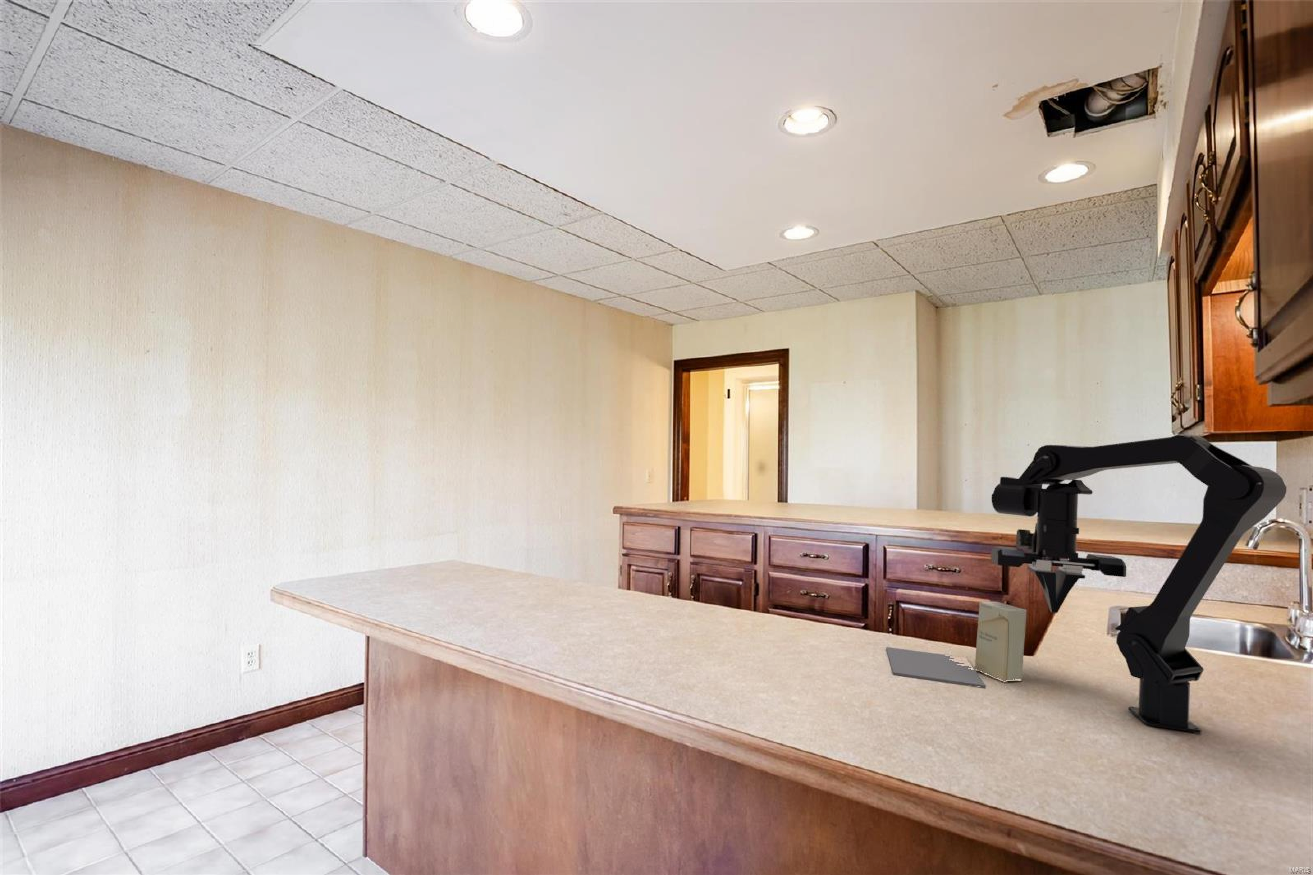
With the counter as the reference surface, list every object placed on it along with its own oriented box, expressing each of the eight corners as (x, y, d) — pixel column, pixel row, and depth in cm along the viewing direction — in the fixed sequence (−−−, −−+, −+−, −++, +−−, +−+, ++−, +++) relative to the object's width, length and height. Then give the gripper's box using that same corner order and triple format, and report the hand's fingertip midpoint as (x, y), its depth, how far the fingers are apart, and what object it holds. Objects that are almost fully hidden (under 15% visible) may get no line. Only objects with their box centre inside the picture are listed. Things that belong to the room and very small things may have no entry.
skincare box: (973, 671, 111) (976, 601, 111) (992, 669, 112) (995, 600, 113) (1004, 683, 105) (1008, 609, 105) (1024, 682, 106) (1027, 609, 107)
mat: (985, 688, 102) (985, 685, 102) (893, 674, 106) (893, 672, 106) (966, 659, 117) (966, 657, 117) (886, 649, 121) (886, 646, 121)
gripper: (1101, 520, 112) (1098, 609, 112) (985, 512, 118) (982, 597, 117) (1129, 525, 102) (1126, 623, 101) (1000, 516, 107) (996, 609, 106)
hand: (1053, 612), depth 107 cm, fingers closed
